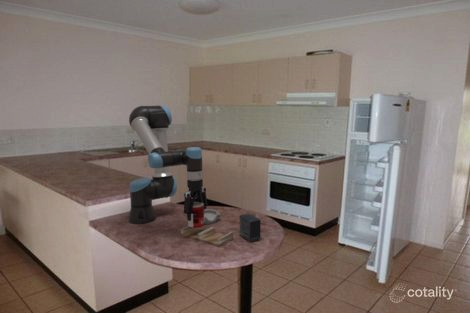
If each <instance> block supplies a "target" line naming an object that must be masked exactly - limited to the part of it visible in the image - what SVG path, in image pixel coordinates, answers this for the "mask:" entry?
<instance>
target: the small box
mask: <svg viewBox="0 0 470 313" xmlns="http://www.w3.org/2000/svg"><path fill="white" fill-rule="evenodd" d="M261 222H262V221H261V219H260V218H259V217H257V216H254V215H253V214H251V213H246V214H240V215H239V236H240V237H241V238H243V239H244V240H246V241H247V242H248V243H253V242H256V241H261Z"/></svg>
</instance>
